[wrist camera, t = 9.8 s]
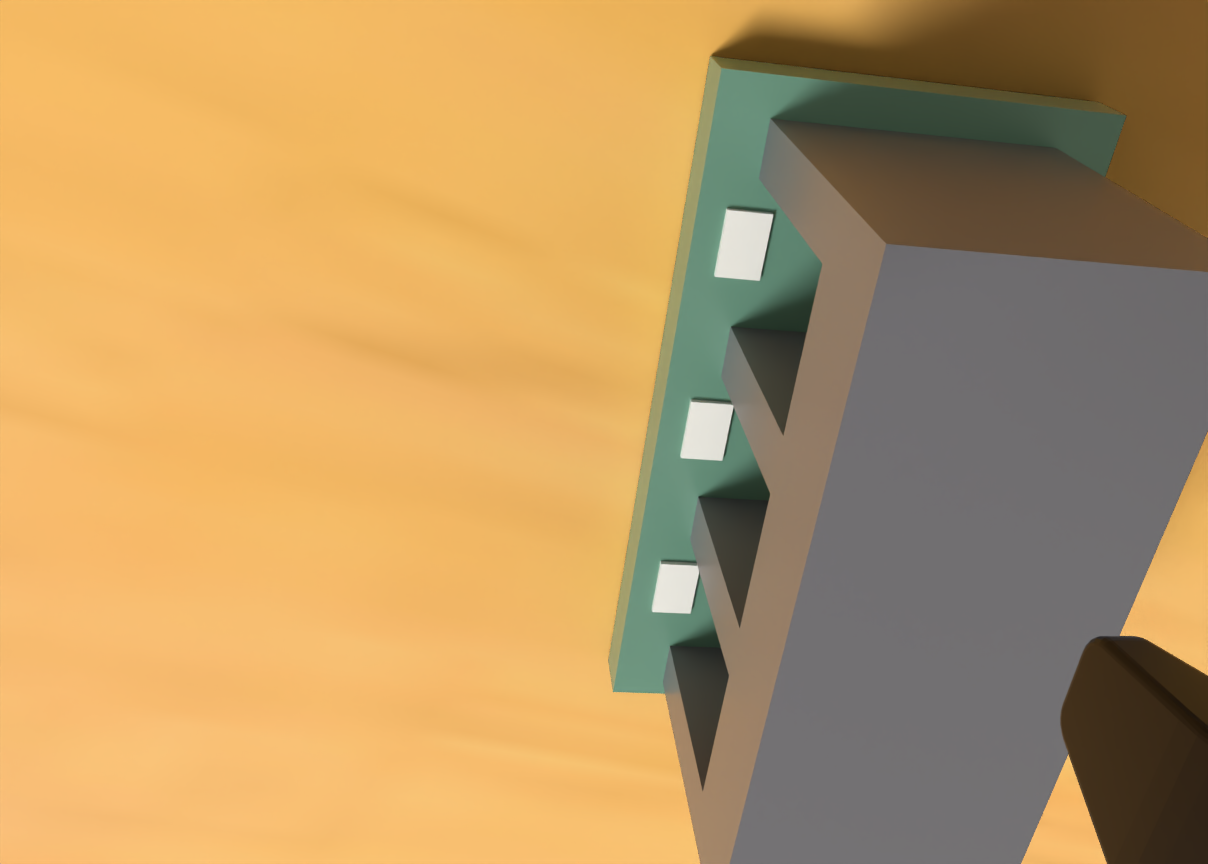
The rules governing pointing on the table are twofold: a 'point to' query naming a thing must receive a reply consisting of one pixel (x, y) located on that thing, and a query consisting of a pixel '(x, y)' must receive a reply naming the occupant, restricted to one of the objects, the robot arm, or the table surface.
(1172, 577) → the table surface
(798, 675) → the block
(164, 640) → the table surface
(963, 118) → the strip
